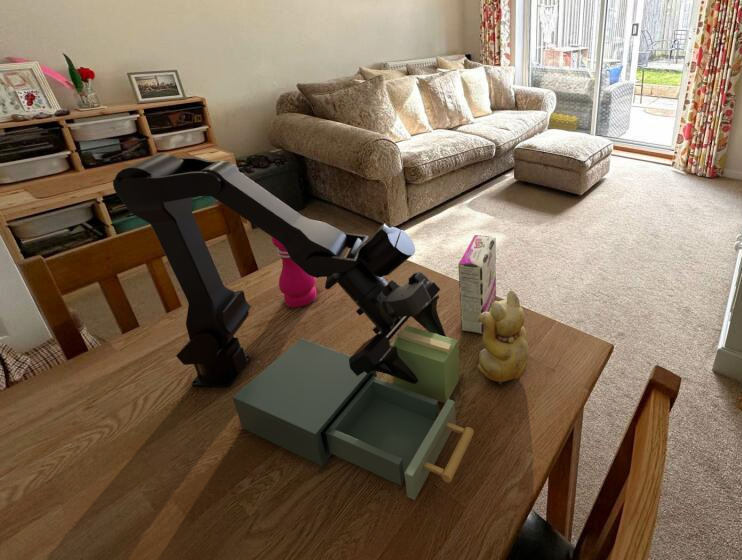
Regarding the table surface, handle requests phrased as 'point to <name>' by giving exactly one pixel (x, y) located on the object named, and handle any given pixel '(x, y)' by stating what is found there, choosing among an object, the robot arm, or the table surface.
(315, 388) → the cabinet
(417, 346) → the snack bag
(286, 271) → the pepper mill
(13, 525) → the table surface
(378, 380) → the drawer
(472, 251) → the candy bar box
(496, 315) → the decorative figurine
